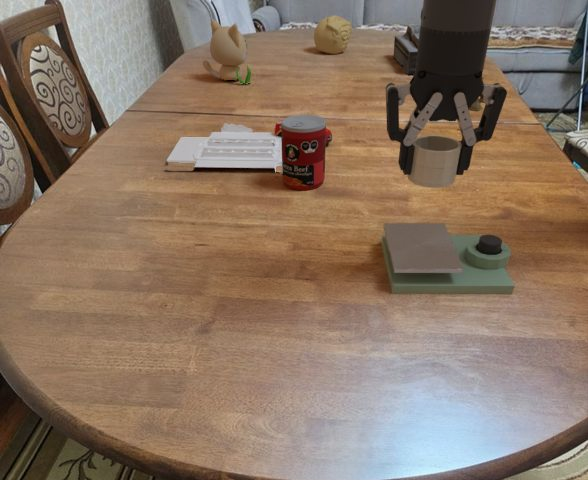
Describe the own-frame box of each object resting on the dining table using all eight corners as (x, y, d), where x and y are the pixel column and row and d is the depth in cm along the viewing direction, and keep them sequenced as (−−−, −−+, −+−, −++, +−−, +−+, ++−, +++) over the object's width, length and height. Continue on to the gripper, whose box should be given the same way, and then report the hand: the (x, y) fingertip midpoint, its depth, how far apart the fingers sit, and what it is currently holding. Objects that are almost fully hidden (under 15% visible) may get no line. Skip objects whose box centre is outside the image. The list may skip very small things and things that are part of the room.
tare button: (496, 245, 78) (498, 234, 76) (501, 256, 75) (504, 244, 74) (474, 245, 78) (477, 234, 76) (479, 256, 75) (482, 244, 74)
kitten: (262, 81, 157) (260, 21, 147) (236, 88, 151) (232, 26, 142) (228, 72, 165) (223, 15, 155) (202, 79, 159) (195, 20, 150)
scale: (492, 243, 83) (496, 225, 81) (519, 294, 73) (525, 275, 71) (380, 243, 84) (382, 225, 82) (391, 294, 73) (394, 275, 71)
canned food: (274, 185, 101) (272, 123, 94) (298, 171, 106) (297, 111, 99) (309, 194, 97) (309, 131, 90) (332, 179, 103) (334, 118, 95)
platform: (443, 226, 81) (444, 222, 81) (462, 273, 71) (463, 269, 71) (383, 226, 81) (383, 223, 81) (393, 273, 71) (394, 269, 71)
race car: (336, 141, 117) (337, 122, 115) (324, 149, 114) (324, 129, 111) (285, 130, 123) (284, 112, 120) (271, 137, 119) (271, 118, 117)
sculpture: (339, 57, 179) (341, 19, 172) (307, 53, 184) (308, 16, 177) (355, 50, 186) (357, 14, 180) (324, 47, 191) (325, 11, 184)
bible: (464, 55, 179) (470, 21, 172) (473, 76, 158) (480, 38, 152) (392, 54, 182) (396, 20, 175) (392, 74, 161) (395, 36, 155)
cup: (450, 169, 73) (456, 135, 70) (459, 188, 68) (466, 152, 65) (404, 169, 73) (409, 135, 70) (411, 188, 68) (416, 152, 65)
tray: (307, 173, 105) (306, 154, 103) (164, 177, 107) (160, 158, 104) (310, 137, 121) (309, 119, 118) (185, 141, 123) (182, 123, 120)
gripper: (393, 28, 56) (379, 184, 67) (534, 27, 56) (496, 184, 67) (385, 16, 62) (373, 161, 73) (513, 15, 62) (481, 161, 73)
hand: (432, 172), depth 70 cm, fingers closed on cup, 6 cm apart
